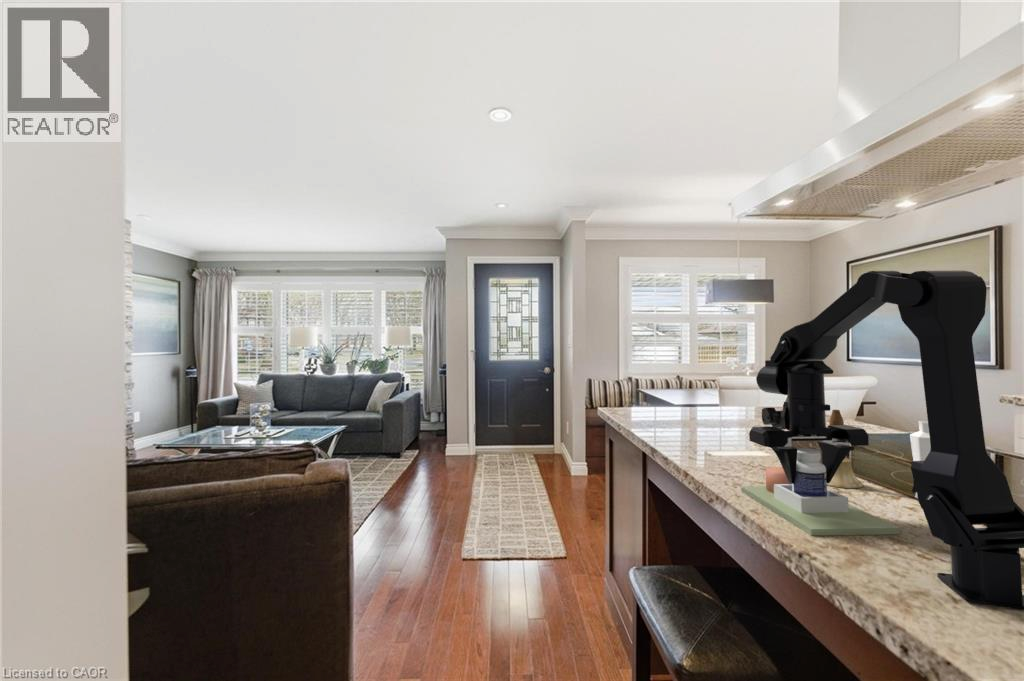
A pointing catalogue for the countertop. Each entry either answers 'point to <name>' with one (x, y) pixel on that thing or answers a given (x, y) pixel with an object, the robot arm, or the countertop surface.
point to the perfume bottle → (920, 443)
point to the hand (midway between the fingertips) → (809, 482)
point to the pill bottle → (810, 474)
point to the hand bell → (843, 463)
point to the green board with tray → (815, 509)
